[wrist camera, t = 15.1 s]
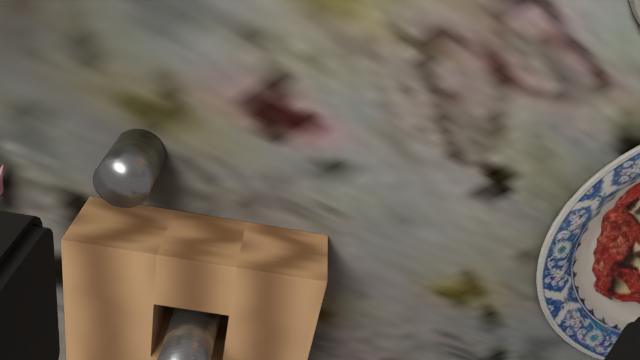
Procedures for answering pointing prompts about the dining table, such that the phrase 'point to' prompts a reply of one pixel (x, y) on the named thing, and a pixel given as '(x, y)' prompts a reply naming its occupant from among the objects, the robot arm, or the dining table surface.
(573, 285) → the ceramic plate
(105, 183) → the short pin
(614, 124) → the dining table surface
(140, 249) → the hole block
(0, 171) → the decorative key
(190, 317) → the tall pin
